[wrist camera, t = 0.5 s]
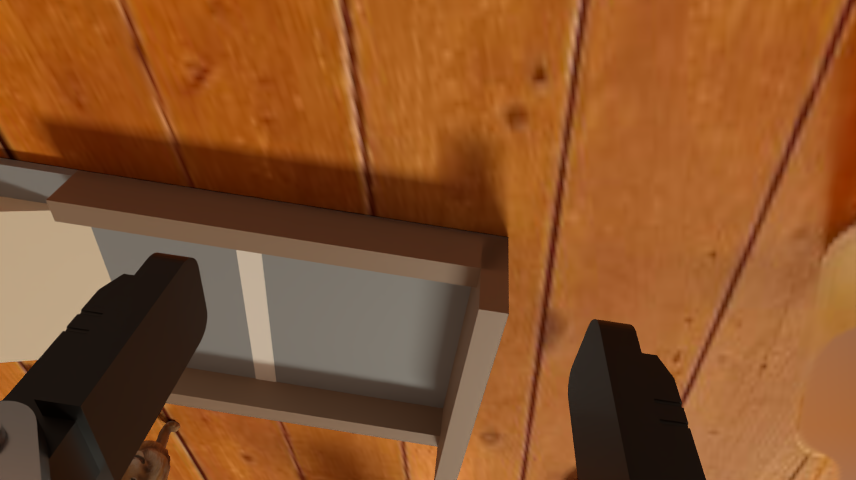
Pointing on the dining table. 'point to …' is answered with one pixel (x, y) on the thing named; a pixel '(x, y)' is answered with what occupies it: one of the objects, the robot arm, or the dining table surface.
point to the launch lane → (271, 300)
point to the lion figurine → (152, 457)
